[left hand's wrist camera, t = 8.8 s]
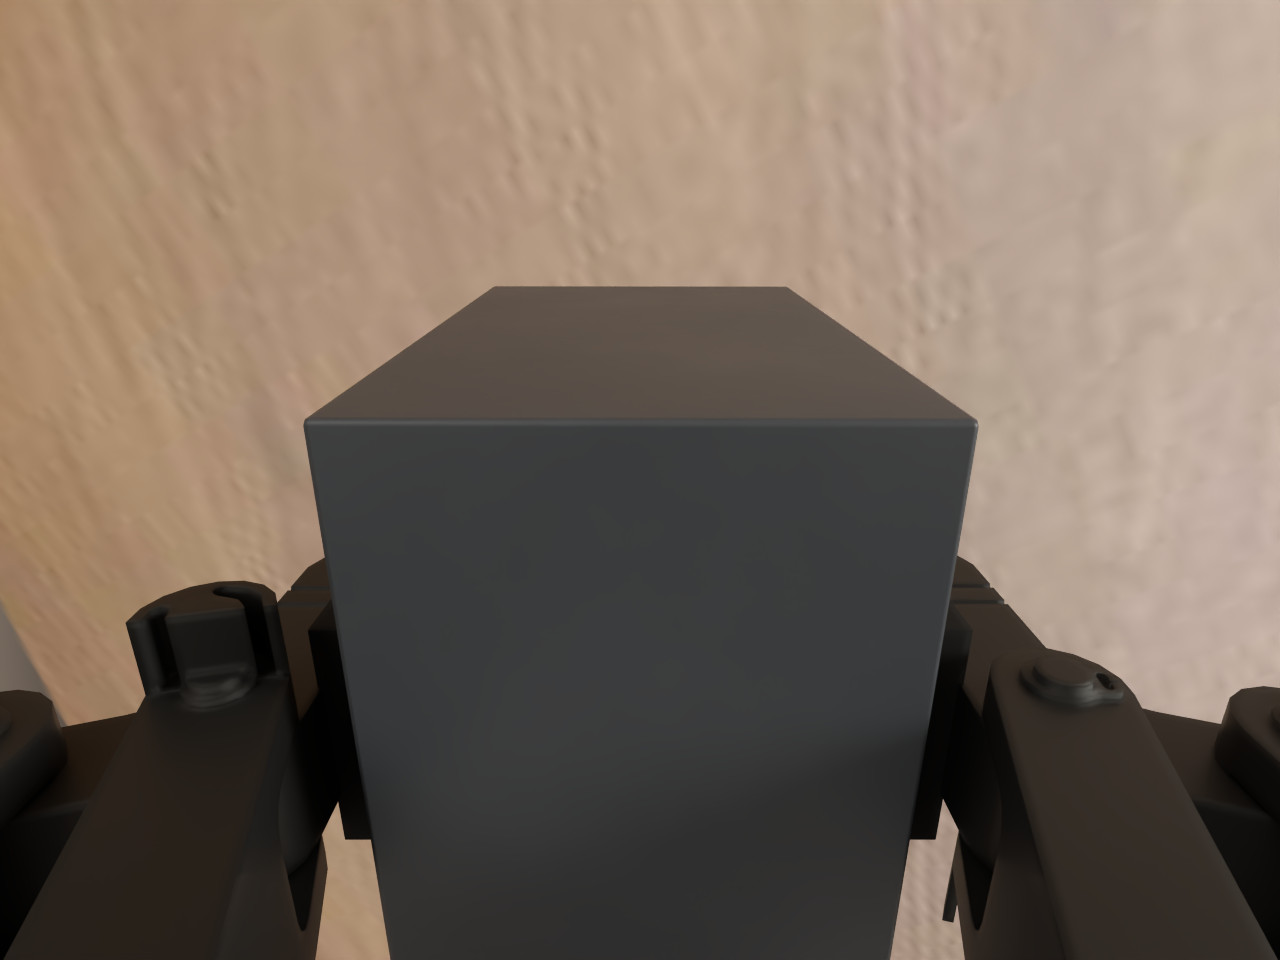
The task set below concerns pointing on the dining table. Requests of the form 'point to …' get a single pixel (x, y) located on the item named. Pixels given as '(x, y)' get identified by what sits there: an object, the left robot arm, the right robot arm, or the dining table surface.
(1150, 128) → the dining table surface
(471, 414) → the bar
